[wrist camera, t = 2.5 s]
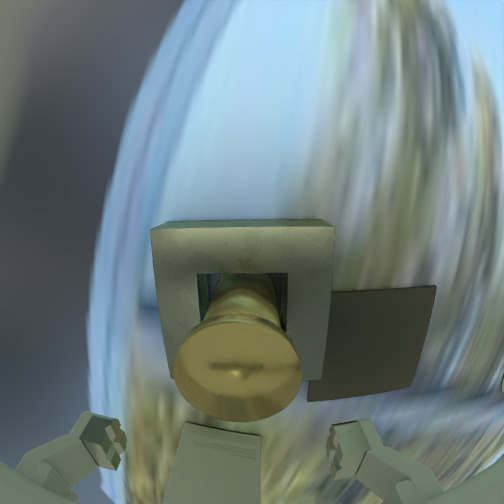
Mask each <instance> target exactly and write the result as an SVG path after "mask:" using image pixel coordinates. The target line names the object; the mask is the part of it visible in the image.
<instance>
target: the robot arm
mask: <svg viewBox="0 0 504 504" xmlns="http://www.w3.org/2000/svg"><path fill="white" fill-rule="evenodd" d="M502 392H503V393H504V379H503V383H502ZM120 426H121V424H120V422H119V420H118V419H115V418H111V417H106V416H103V415H99V414H95V413H91V412H87V411H85V412H83V413H82V415H81V416H80V418H79V419H78V421H77V422H76V424H75V425H74V427H73V428H72V430H71V432H70V433H69V435H63V436H61V437H59V438H57V439H55V440H53V441H51V442H49V443H47V444H44V445H42V446H40V447H37V448H35V449H33V450H31V451H28V452H26V454H25V455H24V457H23V458H22V460H21V461H20V463H19V464H18V466H17V467H16V469H15V470H12V469H11V468H9V467H8V466H6V465H4V464H3V463H1V462H0V504H79V503H76V501H77V499H78V496H77V495H76V493H75V492H73V490H72V489H71V488H70V487H72V486H73V485H74V484H76V483H78V482H79V481H80V480H82V479H83V478H85V477H86V476H87V475H89V474H90V473H91V472H93V471H94V470H96V469H97V468H98V466H99V467H103V468H107V469H111V470H115V471H116V470H117V468H118V465H119V463H120V461H121V458H120V456H119V455H120V454H122V453H123V452H124V451H125V448H126V443H127V439H126V435H125V433H124V431H122V430H121V429H120ZM329 431H330V436H329V437H328V438H327V443H326V450H327V456H328V459H329V460H331V461H332V464H331V467H330V468H331V471H332V475H333V479H334V480H336V479H342V478H348V477H353V476H355V478H357V479H358V480H359V481H360V482H361V483H363V484H364V485H365V486H366V487H368V488H369V489H370V490H371V491H372V492H374V493H375V494H376V495H378V496H379V497H380V498H381V499H383V500H384V501H383V503H382V504H504V457H502V458H501V459H500V460H498V461H497V462H495V463H494V464H492V465H491V466H489V467H488V468H486V469H484V470H483V471H481V472H480V473H478V474H476V475H475V476H473V477H471V478H469V479H468V480H466V481H464V482H462V483H460V484H458V485H457V486H455V487H453V488H451V489H449V490H447V491H445V492H443V490H442V488H441V486H440V484H439V483H438V481H437V479H436V477H435V475H434V473H433V471H432V470H431V469H429V468H428V467H426V466H424V465H422V464H420V463H418V462H416V461H414V460H412V459H410V458H408V457H406V456H405V455H403V454H401V453H399V452H397V451H396V450H394V449H392V448H390V447H389V446H385V447H384V445H383V443H382V441H381V439H380V437H379V435H378V433H377V431H376V429H375V427H374V424H373V422H372V420H371V419H370V418H367V419H362V420H357V421H356V420H355V421H350V422H345V423H339V424H332V425H331V426H330V430H329Z"/></svg>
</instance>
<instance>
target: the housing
mask: <svg viewBox="0 0 504 504" xmlns="http://www.w3.org/2000/svg"><path fill="white" fill-rule="evenodd" d="M150 234H151V246H152V257H153V267H154V276H155V285H156V293H157V300H158V307H159V314H160V321H161V327H162V333H163V339H164V345H165V350H166V356H167V361H168V366H169V371H170V376H171V379H174V373H173V367H174V361H175V358H176V355H177V353H178V351H179V349H180V346H181V344H182V342H183V340H184V338H185V336H186V335H187V334H188V332H189V331H190V330H191V329H192V328H193V327H195V326H196V325H197V324H199V323H200V322H202V321H203V320H204V317H205V315H206V312H207V309H208V307H209V292H208V276H207V273H282V313H281V329H283V330H284V331H285V332H286V333H287V334H288V336H289V337H290V338H291V340H292V341H293V343H294V345H295V347H296V350H297V353H298V357H299V361H300V366H301V371H302V380H301V381H304V380H318V379H321V377H322V370H323V363H324V355H325V348H326V339H327V331H328V321H329V311H330V300H331V288H332V274H333V258H334V237H335V227H334V226H332V225H331V224H329V223H327V222H325V221H323V220H321V219H268V220H209V221H176V222H166V223H164V224H162V225H159V226H157V227H155V228H153V229H150Z"/></svg>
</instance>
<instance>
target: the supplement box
mask: <svg viewBox="0 0 504 504" xmlns="http://www.w3.org/2000/svg"><path fill="white" fill-rule="evenodd" d="M163 504H261V437H260V436H255V435H248V434H241V433H235V432H229V431H224V430H219V429H214V428H209V427H204V426H199V425H195V424H191V423H187V422H185V423H184V427H183V431H182V434H181V438H180V441H179V445H178V448H177V452H176V456H175V459H174V463H173V466H172V470H171V474H170V477H169V481H168V485H167V489H166V492H165V496H164V500H163Z"/></svg>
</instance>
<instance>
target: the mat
mask: <svg viewBox="0 0 504 504" xmlns="http://www.w3.org/2000/svg"><path fill="white" fill-rule="evenodd" d="M436 289H437V287H436V286H435V285H434V286H421V287H408V288H394V289H378V290H360V291H338V292H331V300H330V311H329V321H328V331H327V339H326V348H325V355H324V363H323V370H322V377H321V379H318V380H310V382H309V389H308V397H307V401H308V402H314V401H325V400H334V399H342V398H350V397H357V396H364V395H370V394H376V393H381V392H387V391H392V390H397V389H402V388H406V387H410V386H411V383H412V380H413V377H414V374H415V371H416V368H417V365H418V362H419V359H420V356H421V352H422V349H423V345H424V342H425V338H426V334H427V330H428V326H429V322H430V318H431V313H432V309H433V304H434V299H435V294H436Z"/></svg>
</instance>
